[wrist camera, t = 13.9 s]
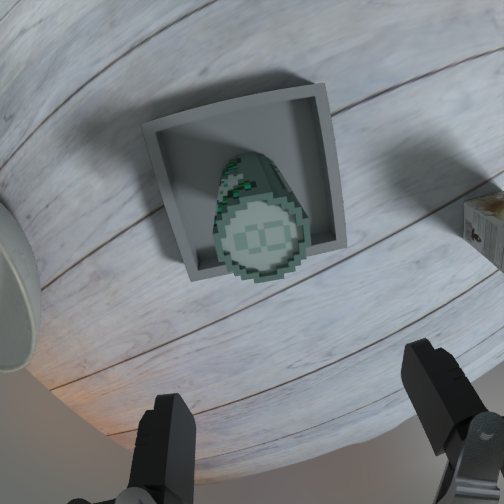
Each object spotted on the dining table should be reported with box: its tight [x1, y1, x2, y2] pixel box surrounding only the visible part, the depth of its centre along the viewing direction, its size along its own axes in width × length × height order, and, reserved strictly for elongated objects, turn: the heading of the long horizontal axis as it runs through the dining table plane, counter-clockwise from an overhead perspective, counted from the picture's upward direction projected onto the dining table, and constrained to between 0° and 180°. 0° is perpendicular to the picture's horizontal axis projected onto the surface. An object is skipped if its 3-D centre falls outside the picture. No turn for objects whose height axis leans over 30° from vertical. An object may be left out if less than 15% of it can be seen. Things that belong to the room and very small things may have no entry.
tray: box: [140, 83, 347, 282], centre depth 33 cm, size 18×18×4 cm
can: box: [212, 152, 311, 283], centre depth 27 cm, size 6×6×15 cm
